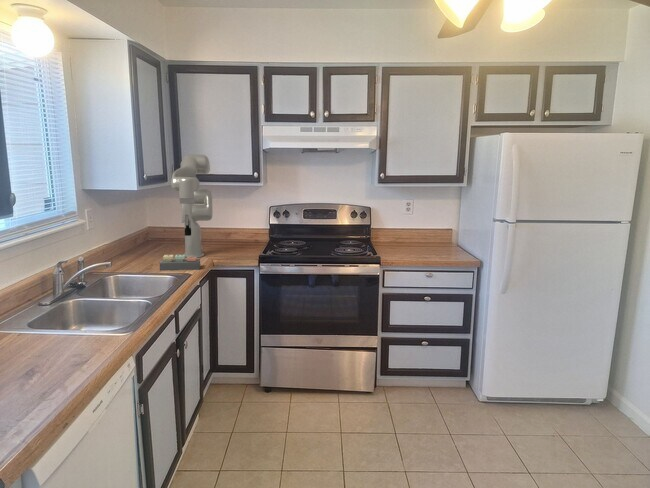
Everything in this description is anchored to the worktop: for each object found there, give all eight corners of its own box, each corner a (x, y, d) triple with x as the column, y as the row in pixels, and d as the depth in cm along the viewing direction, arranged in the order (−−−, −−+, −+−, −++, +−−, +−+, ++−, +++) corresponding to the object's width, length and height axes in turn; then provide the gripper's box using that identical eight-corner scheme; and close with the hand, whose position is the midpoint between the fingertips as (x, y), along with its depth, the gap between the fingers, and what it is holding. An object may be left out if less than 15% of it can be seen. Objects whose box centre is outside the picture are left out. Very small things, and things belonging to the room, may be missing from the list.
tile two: (175, 265, 227) (174, 256, 227) (176, 263, 232) (175, 254, 231) (184, 265, 229) (184, 255, 228) (185, 263, 233) (185, 254, 232)
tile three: (187, 267, 229) (186, 258, 228) (187, 265, 234) (187, 256, 233) (196, 267, 230) (196, 257, 229) (196, 265, 235) (196, 256, 234)
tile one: (163, 265, 226) (163, 256, 225) (164, 263, 231) (164, 254, 230) (172, 265, 227) (172, 256, 226) (174, 263, 232) (173, 254, 231)
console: (159, 270, 224) (159, 263, 223) (162, 266, 233) (162, 259, 232) (199, 269, 229) (198, 262, 228) (200, 265, 237) (200, 258, 237)
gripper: (180, 200, 231) (181, 233, 235) (178, 202, 217) (179, 237, 220) (195, 200, 233) (196, 233, 237) (193, 202, 219) (194, 237, 222)
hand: (188, 235), depth 229 cm, fingers closed
